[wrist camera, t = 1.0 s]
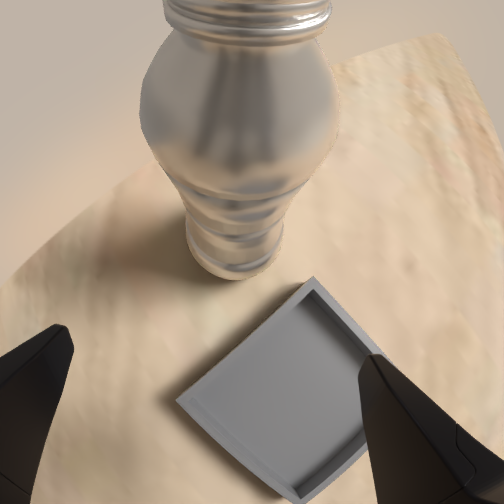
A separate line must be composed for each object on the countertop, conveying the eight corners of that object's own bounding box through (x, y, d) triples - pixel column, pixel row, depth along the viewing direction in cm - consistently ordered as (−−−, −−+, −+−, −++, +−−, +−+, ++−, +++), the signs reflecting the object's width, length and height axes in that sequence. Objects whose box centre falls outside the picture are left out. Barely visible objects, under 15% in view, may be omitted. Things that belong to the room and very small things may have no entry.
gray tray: (293, 494, 18) (299, 508, 15) (180, 393, 20) (175, 400, 17) (403, 388, 20) (418, 392, 18) (305, 282, 22) (313, 276, 20)
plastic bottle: (210, 300, 21) (89, 59, 2) (178, 217, 23) (90, -50, 4) (291, 266, 23) (475, 31, 3) (255, 189, 24) (304, -76, 5)
